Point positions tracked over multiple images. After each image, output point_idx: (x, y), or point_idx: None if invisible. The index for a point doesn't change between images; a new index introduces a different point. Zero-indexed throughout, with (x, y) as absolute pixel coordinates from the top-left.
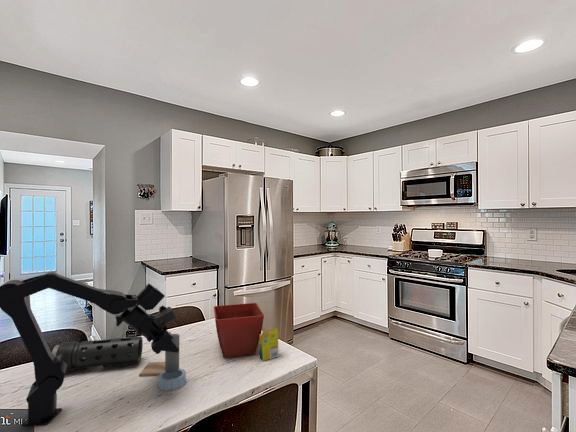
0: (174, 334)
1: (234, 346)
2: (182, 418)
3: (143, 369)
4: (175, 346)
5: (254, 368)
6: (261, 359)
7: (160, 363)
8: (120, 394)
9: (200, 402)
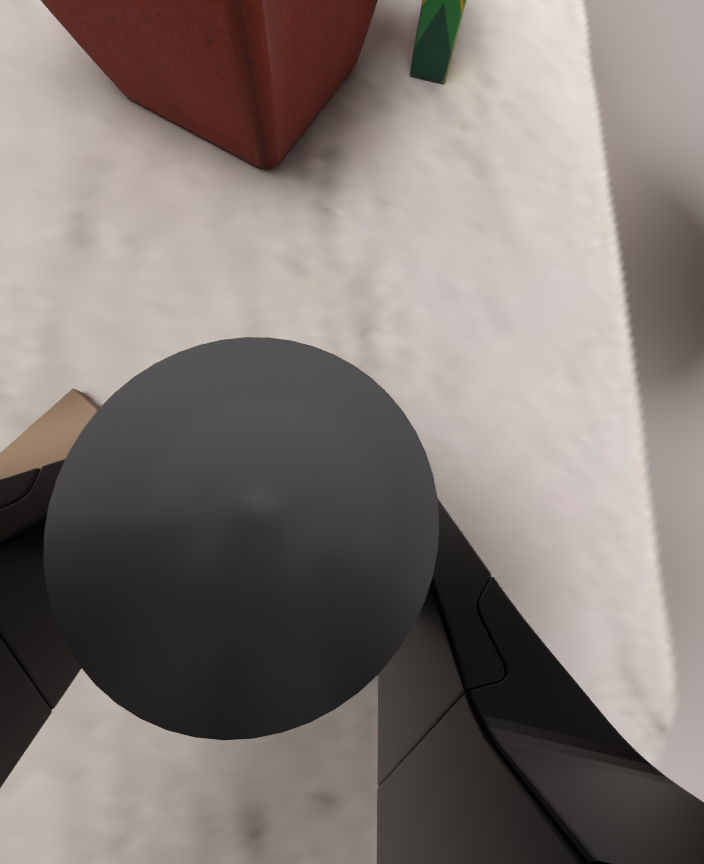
0: (163, 413)
1: (313, 58)
2: (663, 613)
3: None
4: (455, 535)
5: (476, 146)
6: (433, 75)
7: (25, 462)
8: (196, 819)
9: (589, 482)
